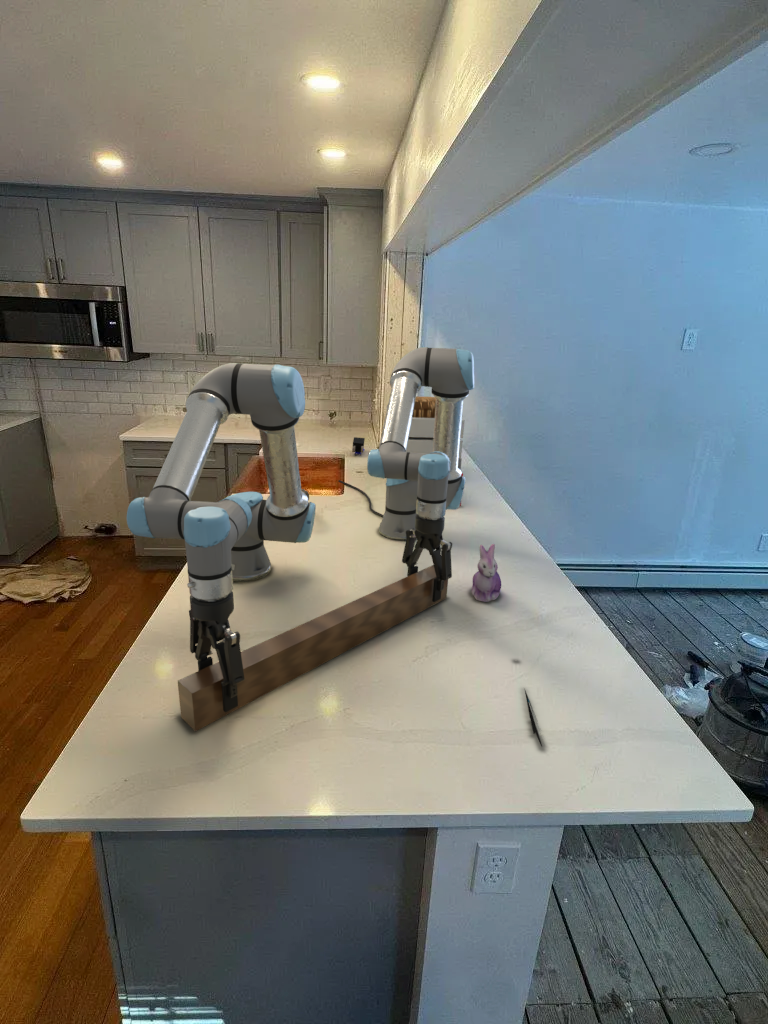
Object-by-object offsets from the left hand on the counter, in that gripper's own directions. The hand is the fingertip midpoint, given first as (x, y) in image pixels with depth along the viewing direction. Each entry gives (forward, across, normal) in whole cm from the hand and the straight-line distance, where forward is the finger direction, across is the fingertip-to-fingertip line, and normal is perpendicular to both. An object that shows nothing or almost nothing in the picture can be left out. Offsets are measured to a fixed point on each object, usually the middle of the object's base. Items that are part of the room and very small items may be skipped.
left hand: (218, 697), depth 110 cm
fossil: (+3, -76, +77) cm, 108 cm away
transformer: (+3, -84, +160) cm, 181 cm away
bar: (+3, 0, +31) cm, 31 cm away
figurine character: (+3, -130, +164) cm, 209 cm away
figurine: (+3, +9, +79) cm, 79 cm away
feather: (+3, +41, +46) cm, 62 cm away
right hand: (0, 0, +62) cm, 62 cm away
